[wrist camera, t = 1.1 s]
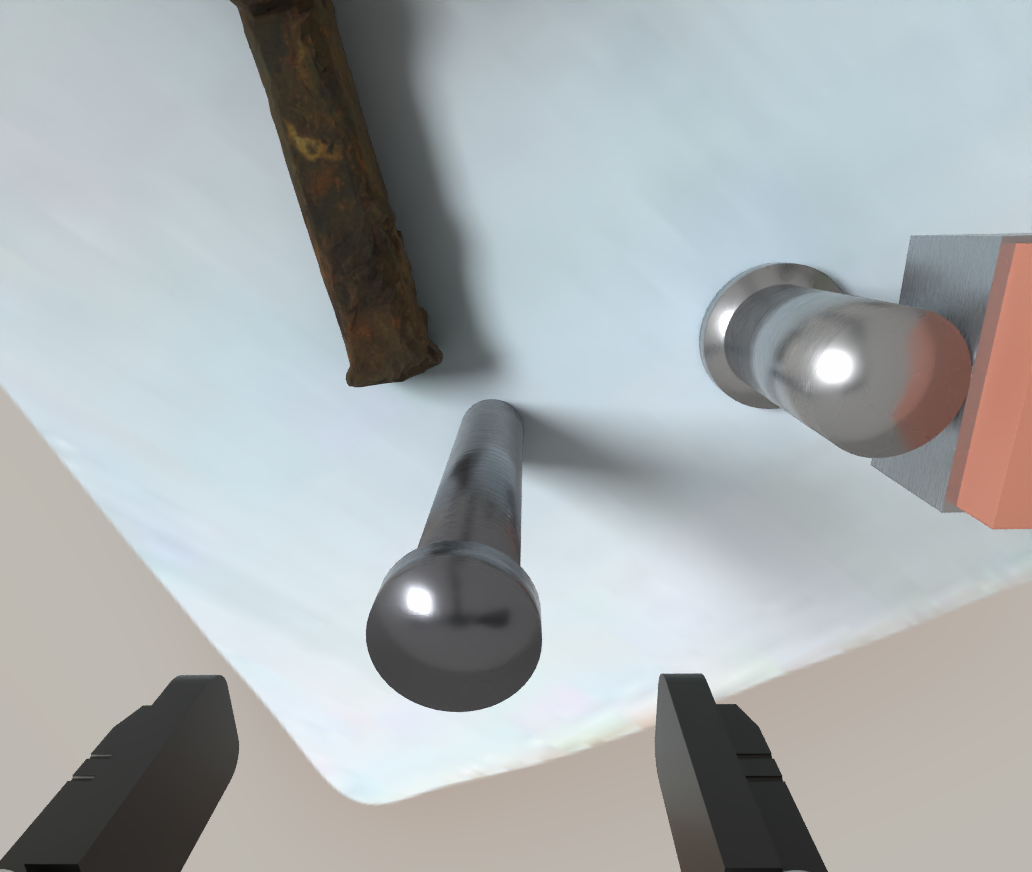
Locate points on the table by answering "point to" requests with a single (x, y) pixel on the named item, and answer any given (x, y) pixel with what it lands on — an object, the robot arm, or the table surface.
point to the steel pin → (464, 581)
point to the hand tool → (339, 188)
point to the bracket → (1005, 414)
